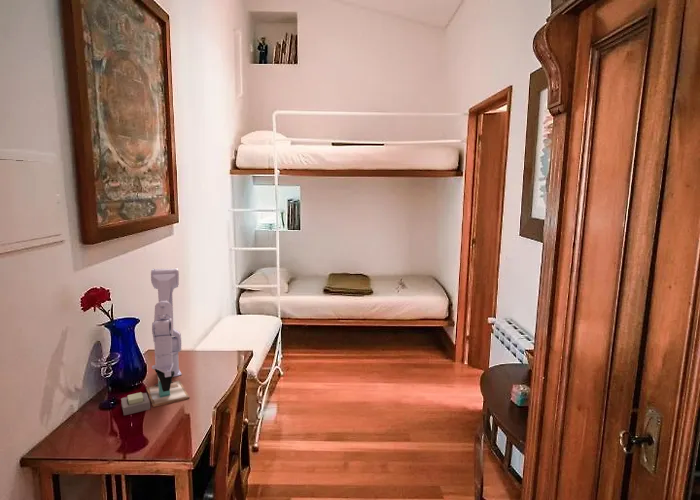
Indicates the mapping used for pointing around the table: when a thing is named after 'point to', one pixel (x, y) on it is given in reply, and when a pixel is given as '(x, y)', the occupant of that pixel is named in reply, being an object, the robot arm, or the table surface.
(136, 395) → the button
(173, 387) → the clipboard
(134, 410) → the button housing
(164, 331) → the robot arm
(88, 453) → the table surface
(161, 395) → the teal rimmed box
